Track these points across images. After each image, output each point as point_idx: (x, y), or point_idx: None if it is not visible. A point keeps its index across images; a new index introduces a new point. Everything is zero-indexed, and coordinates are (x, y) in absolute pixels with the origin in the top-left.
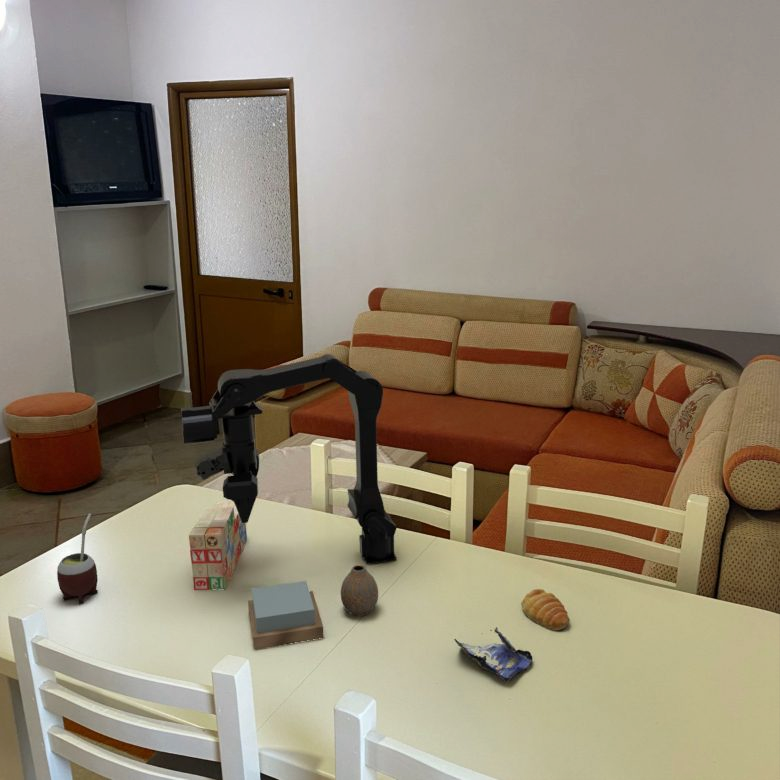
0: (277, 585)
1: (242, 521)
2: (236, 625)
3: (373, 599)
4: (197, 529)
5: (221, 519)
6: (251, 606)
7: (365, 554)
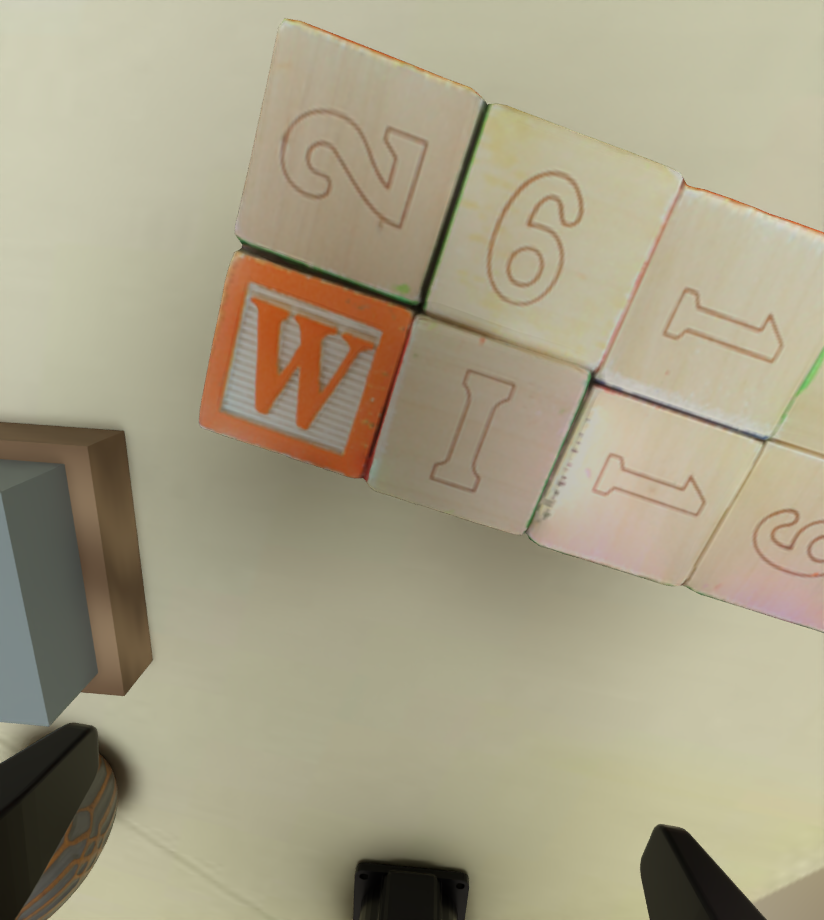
0: (18, 610)
1: (47, 742)
2: (29, 367)
3: None
4: (406, 160)
5: (568, 479)
6: (35, 454)
7: (382, 894)
